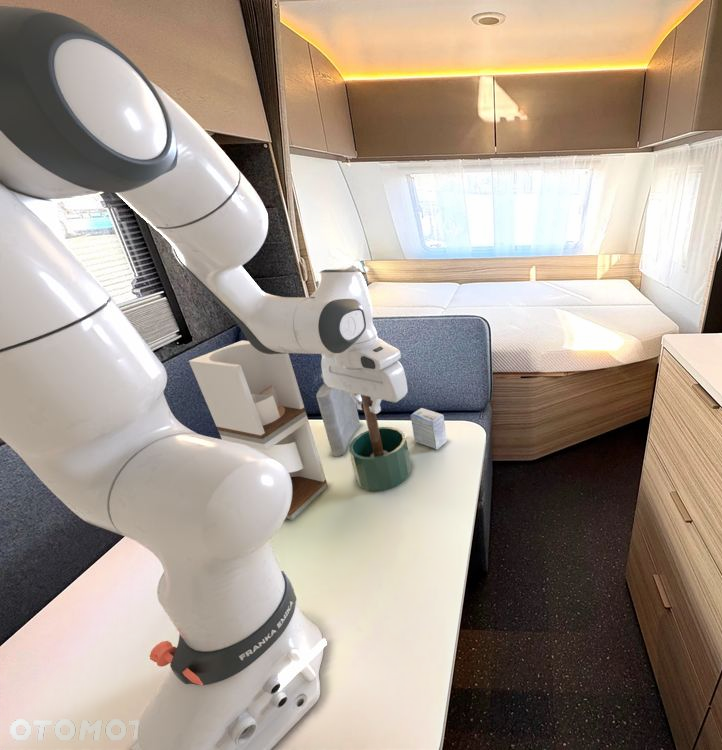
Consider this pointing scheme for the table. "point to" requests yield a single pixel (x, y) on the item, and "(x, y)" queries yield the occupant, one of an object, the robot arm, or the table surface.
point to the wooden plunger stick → (373, 428)
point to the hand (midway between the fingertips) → (369, 410)
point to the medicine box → (429, 428)
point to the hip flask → (337, 417)
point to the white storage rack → (262, 412)
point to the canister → (380, 460)
